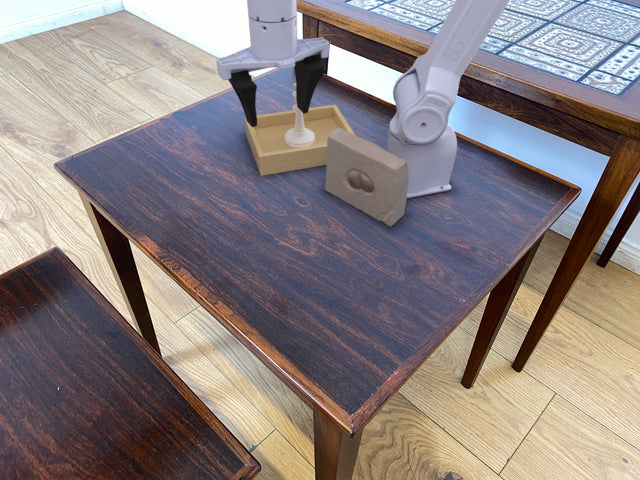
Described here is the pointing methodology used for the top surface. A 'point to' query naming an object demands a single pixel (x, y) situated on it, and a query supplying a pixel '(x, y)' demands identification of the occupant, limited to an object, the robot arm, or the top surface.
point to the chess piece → (299, 130)
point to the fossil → (366, 176)
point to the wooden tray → (281, 156)
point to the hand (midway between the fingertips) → (277, 116)
